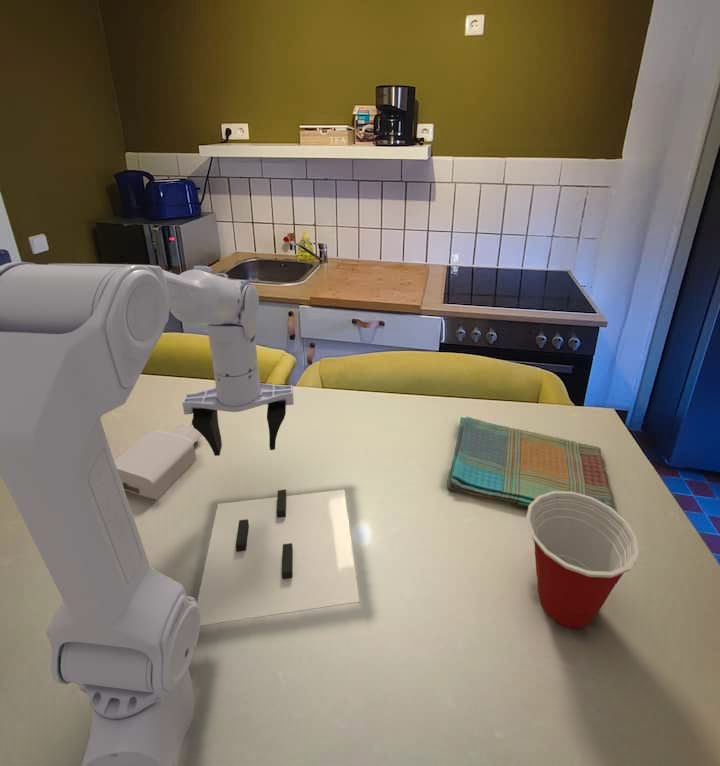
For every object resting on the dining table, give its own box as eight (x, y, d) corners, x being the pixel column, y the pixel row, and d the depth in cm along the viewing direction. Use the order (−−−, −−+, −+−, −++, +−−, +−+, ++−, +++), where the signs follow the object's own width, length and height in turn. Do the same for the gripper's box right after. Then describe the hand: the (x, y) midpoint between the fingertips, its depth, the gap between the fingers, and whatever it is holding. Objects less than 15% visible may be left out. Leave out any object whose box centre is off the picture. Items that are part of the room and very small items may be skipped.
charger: (220, 440, 77) (157, 505, 63) (178, 429, 79) (110, 489, 66) (217, 418, 75) (152, 480, 62) (174, 407, 78) (103, 465, 65)
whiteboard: (366, 613, 49) (366, 607, 49) (184, 640, 46) (183, 634, 46) (348, 490, 66) (348, 485, 65) (214, 505, 63) (213, 500, 63)
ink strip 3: (292, 578, 52) (291, 571, 51) (282, 579, 52) (281, 572, 51) (292, 549, 55) (292, 542, 55) (283, 550, 55) (282, 544, 55)
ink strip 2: (285, 516, 60) (285, 510, 60) (277, 517, 60) (276, 511, 60) (286, 495, 64) (285, 489, 63) (278, 496, 64) (277, 490, 63)
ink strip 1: (245, 550, 55) (245, 544, 55) (236, 552, 55) (235, 545, 55) (249, 525, 59) (248, 519, 58) (240, 526, 59) (239, 520, 58)
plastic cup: (531, 542, 57) (544, 472, 53) (624, 594, 51) (646, 519, 47) (499, 608, 49) (512, 532, 45) (603, 680, 43) (629, 598, 39)
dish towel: (459, 423, 81) (460, 411, 80) (597, 451, 73) (600, 439, 73) (445, 491, 66) (446, 478, 65) (618, 535, 58) (622, 521, 57)
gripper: (290, 347, 62) (296, 425, 66) (186, 355, 60) (199, 434, 64) (290, 373, 55) (296, 457, 60) (172, 382, 53) (188, 469, 58)
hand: (245, 448), depth 62 cm, fingers open, 7 cm apart
